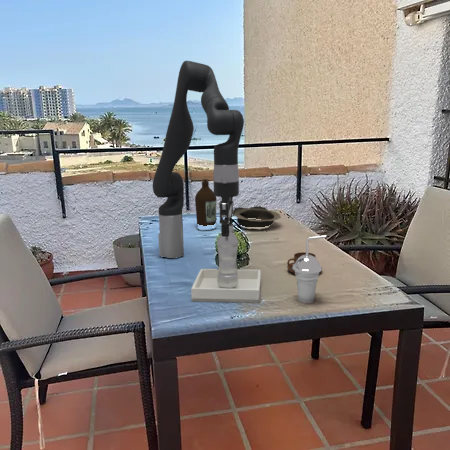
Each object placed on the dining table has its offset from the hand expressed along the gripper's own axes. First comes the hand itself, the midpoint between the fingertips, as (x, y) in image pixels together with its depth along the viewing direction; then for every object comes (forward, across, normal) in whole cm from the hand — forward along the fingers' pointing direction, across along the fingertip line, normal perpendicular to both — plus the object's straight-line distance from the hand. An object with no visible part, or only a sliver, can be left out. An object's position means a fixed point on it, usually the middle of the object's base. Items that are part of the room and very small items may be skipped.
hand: (226, 232), depth 131 cm
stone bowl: (+20, -87, +6) cm, 89 cm away
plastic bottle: (+18, 0, 0) cm, 18 cm away
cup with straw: (+19, +6, +24) cm, 31 cm away
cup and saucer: (+19, -20, +25) cm, 37 cm away
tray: (+19, 0, 0) cm, 19 cm away
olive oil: (+19, -82, -19) cm, 86 cm away
